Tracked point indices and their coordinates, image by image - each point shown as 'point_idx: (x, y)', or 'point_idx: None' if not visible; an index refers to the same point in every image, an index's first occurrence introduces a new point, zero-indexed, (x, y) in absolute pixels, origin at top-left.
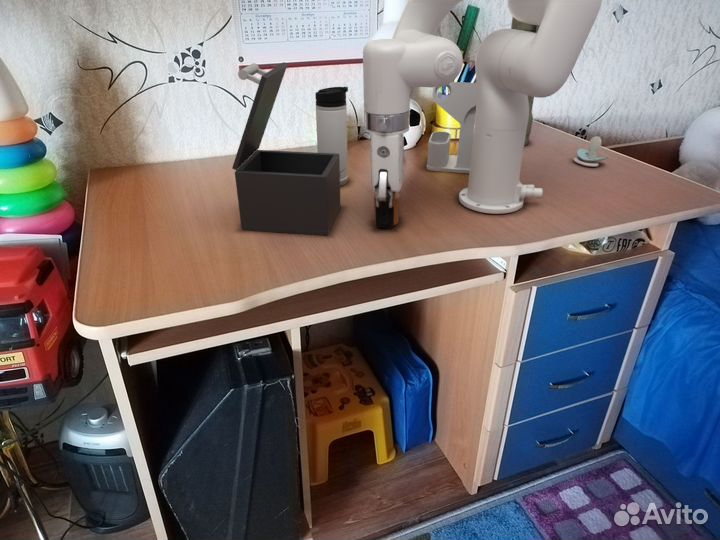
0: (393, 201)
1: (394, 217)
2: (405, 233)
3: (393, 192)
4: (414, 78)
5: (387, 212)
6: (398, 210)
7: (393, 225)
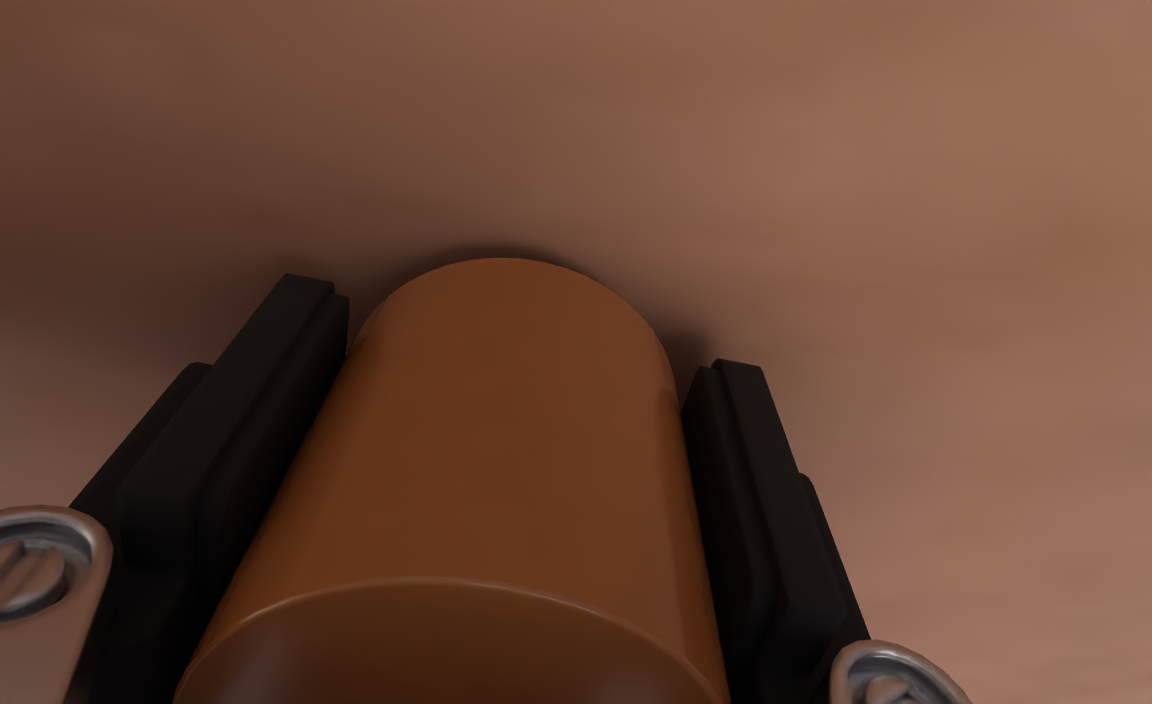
0: (709, 661)
1: (663, 395)
2: (852, 178)
3: (236, 658)
4: None
5: (850, 629)
6: (534, 361)
7: (759, 372)
